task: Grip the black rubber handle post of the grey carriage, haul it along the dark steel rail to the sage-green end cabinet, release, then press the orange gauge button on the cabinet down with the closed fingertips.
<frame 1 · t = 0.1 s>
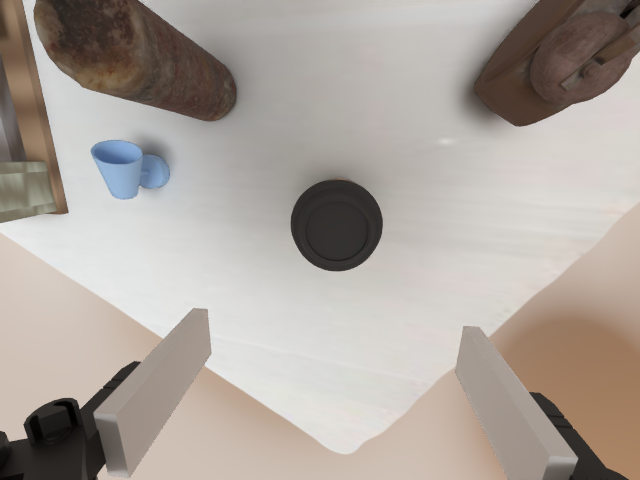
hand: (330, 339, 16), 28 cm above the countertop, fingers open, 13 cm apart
rail: (14, 103, 41), on the countertop
alarm clock: (515, 67, 36), on the countertop
coffee cup: (338, 203, 42), on the countertop
spotlight: (155, 168, 43), on the countertop
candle: (212, 90, 39), on the countertop
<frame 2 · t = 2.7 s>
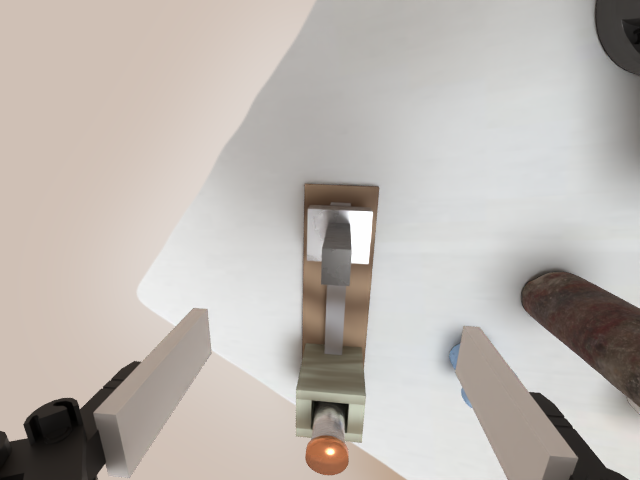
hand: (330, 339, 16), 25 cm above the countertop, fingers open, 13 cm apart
rail: (336, 293, 42), on the countertop
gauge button: (328, 425, 34), point 11 cm above the countertop, slide at 0.0 cm
carriage: (337, 246, 30), point 9 cm above the countertop, slide at 0.0 cm
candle: (550, 293, 40), on the countertop
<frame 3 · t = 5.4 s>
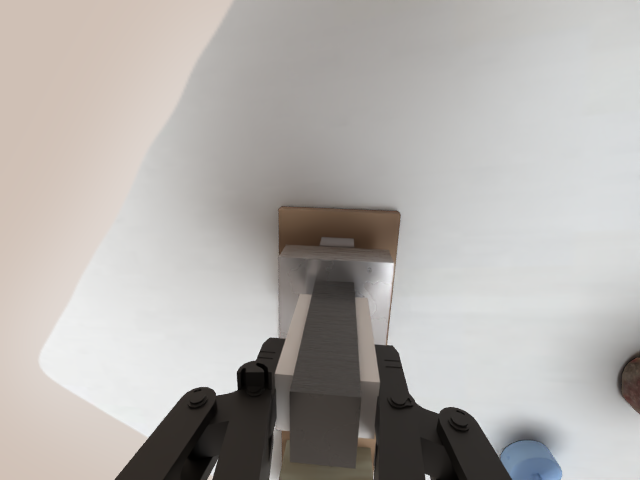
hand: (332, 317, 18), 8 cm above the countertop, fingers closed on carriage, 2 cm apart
rail: (331, 369, 28), on the countertop
carriage: (331, 334, 16), point 9 cm above the countertop, slide at 0.0 cm, touching gripper
spotlight: (526, 452, 29), on the countertop
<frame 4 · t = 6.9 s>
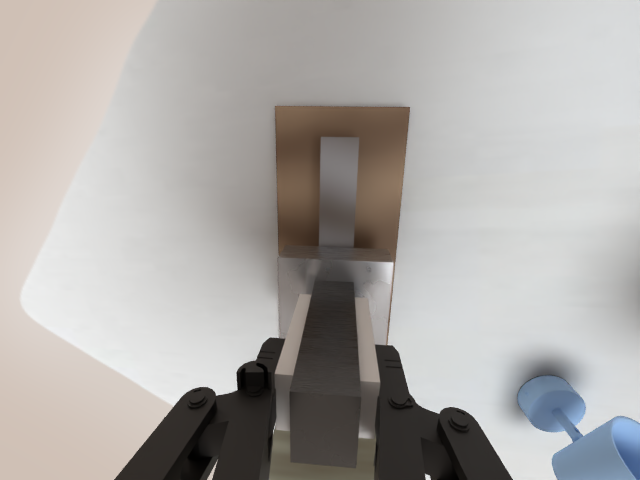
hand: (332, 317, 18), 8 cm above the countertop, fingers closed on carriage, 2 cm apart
rail: (335, 299, 26), on the countertop
carriage: (331, 334, 16), point 9 cm above the countertop, slide at 7.2 cm, touching gripper
spotlight: (545, 390, 27), on the countertop
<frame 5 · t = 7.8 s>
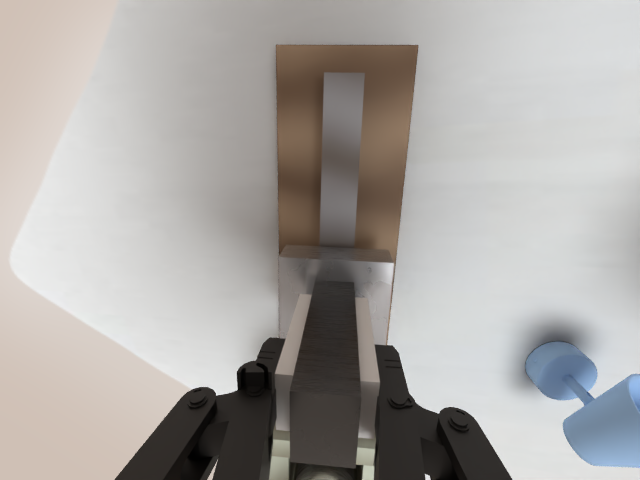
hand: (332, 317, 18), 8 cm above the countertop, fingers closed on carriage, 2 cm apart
rail: (336, 260, 25), on the countertop
carriage: (331, 334, 16), point 9 cm above the countertop, slide at 10.7 cm, touching gripper
spotlight: (555, 358, 26), on the countertop
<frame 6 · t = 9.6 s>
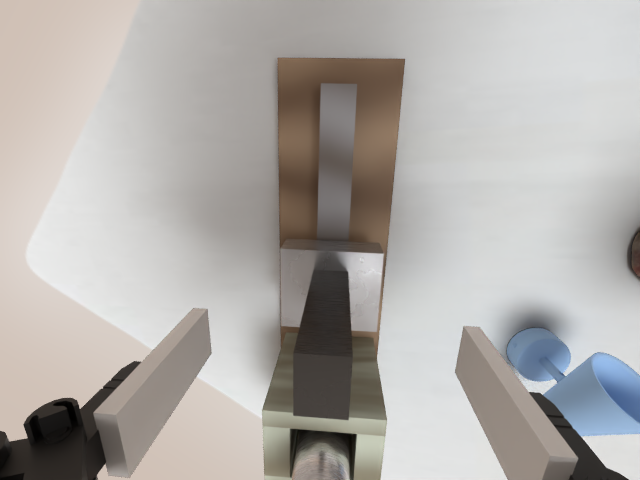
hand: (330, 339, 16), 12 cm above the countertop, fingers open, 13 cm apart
rail: (332, 253, 27), on the countertop
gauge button: (321, 474, 19), point 11 cm above the countertop, slide at 0.0 cm
carriage: (327, 315, 18), point 9 cm above the countertop, slide at 10.8 cm
spotlight: (533, 343, 28), on the countertop
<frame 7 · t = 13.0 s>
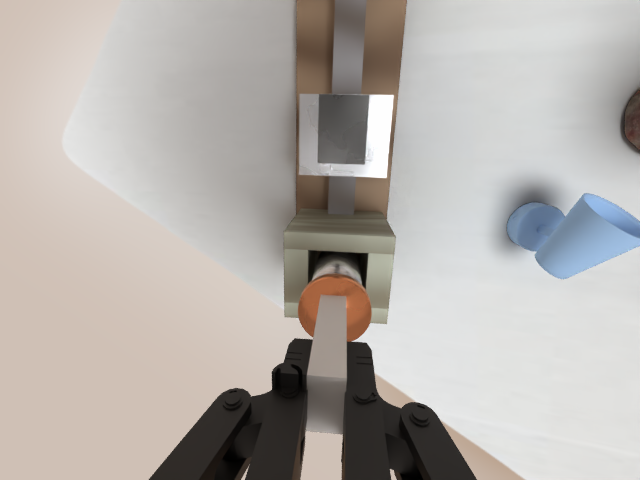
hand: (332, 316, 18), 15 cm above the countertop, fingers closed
rail: (345, 130, 29), on the countertop
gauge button: (336, 284, 22), point 11 cm above the countertop, slide at 0.3 cm, touching gripper
carriage: (343, 135, 20), point 9 cm above the countertop, slide at 10.8 cm
spotlight: (532, 220, 30), on the countertop
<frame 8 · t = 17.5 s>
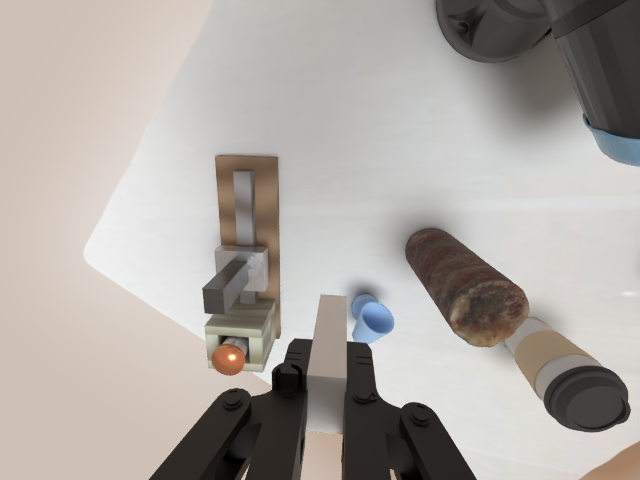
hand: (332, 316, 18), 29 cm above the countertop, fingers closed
rail: (252, 252, 49), on the countertop
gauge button: (237, 343, 44), point 9 cm above the countertop, slide at 2.6 cm
coffee cup: (524, 335, 49), on the countertop
carriage: (231, 280, 40), point 9 cm above the countertop, slide at 10.8 cm
spotlight: (366, 303, 50), on the countertop
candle: (430, 249, 46), on the countertop
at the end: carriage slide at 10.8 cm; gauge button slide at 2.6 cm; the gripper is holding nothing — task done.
